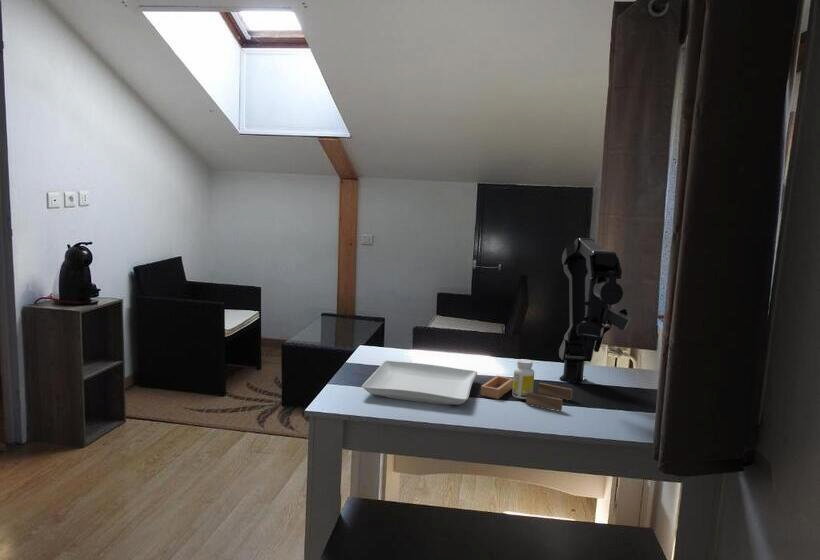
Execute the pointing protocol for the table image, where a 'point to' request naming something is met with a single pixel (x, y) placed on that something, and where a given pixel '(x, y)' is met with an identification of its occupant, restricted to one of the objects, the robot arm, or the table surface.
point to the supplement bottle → (523, 379)
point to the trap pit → (497, 387)
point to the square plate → (421, 382)
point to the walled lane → (547, 400)
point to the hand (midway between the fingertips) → (592, 355)
